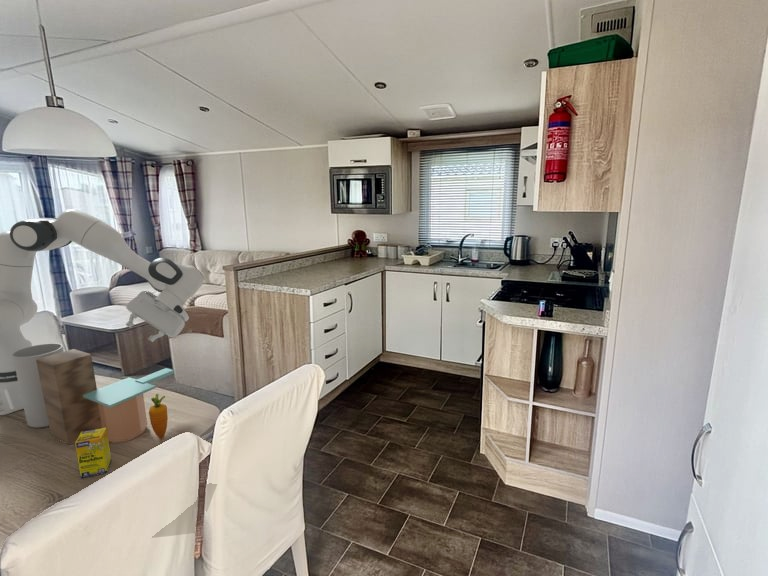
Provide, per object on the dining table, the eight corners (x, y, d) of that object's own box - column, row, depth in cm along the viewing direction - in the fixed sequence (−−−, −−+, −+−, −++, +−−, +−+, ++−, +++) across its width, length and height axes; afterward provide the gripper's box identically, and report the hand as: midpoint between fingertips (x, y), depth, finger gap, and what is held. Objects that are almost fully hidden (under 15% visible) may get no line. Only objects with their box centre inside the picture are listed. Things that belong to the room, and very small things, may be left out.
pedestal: (86, 421, 133) (73, 348, 128) (103, 428, 129) (91, 354, 123) (51, 436, 125) (36, 359, 119) (68, 444, 120) (53, 365, 115)
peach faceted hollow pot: (98, 444, 121) (91, 402, 118) (116, 424, 131) (110, 385, 128) (136, 441, 122) (130, 399, 119) (151, 421, 133) (146, 383, 130)
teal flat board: (157, 368, 142) (157, 365, 142) (183, 376, 136) (183, 372, 136) (83, 397, 121) (82, 393, 121) (110, 407, 115) (109, 404, 114)
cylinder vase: (71, 422, 133) (58, 352, 127) (23, 432, 126) (7, 360, 121) (77, 405, 143) (65, 341, 138) (32, 415, 137) (18, 347, 132)
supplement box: (80, 479, 105) (74, 443, 103) (87, 466, 111) (80, 431, 108) (107, 473, 108) (101, 438, 105) (112, 460, 113) (106, 426, 111)
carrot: (158, 434, 126) (152, 391, 123) (173, 434, 126) (168, 391, 123) (149, 443, 121) (142, 398, 118) (165, 443, 121) (159, 399, 118)
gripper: (141, 284, 141) (110, 314, 135) (189, 314, 141) (160, 345, 134) (147, 292, 147) (117, 321, 140) (192, 320, 146) (165, 351, 140)
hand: (139, 333), depth 137 cm, fingers open, 8 cm apart
